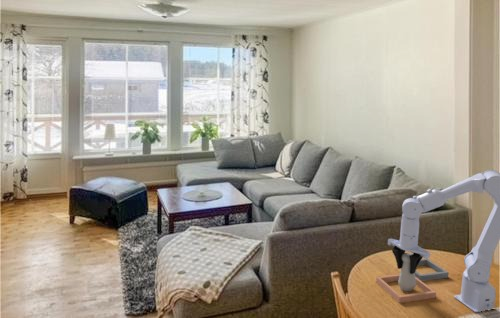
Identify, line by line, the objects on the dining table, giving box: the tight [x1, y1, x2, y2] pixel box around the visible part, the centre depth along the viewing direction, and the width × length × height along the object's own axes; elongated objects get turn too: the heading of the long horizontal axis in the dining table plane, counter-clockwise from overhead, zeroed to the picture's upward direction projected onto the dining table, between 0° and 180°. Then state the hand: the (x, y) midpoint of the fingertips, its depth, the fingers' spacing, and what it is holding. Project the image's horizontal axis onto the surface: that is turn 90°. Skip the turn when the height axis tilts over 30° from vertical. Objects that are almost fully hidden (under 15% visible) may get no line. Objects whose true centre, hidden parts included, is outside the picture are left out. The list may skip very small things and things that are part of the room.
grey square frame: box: [415, 258, 449, 282], centre depth 146 cm, size 12×12×2 cm
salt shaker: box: [397, 252, 417, 293], centre depth 132 cm, size 6×6×13 cm
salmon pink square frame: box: [375, 273, 437, 304], centre depth 133 cm, size 14×14×2 cm
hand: (406, 270), depth 132 cm, fingers open, 4 cm apart
